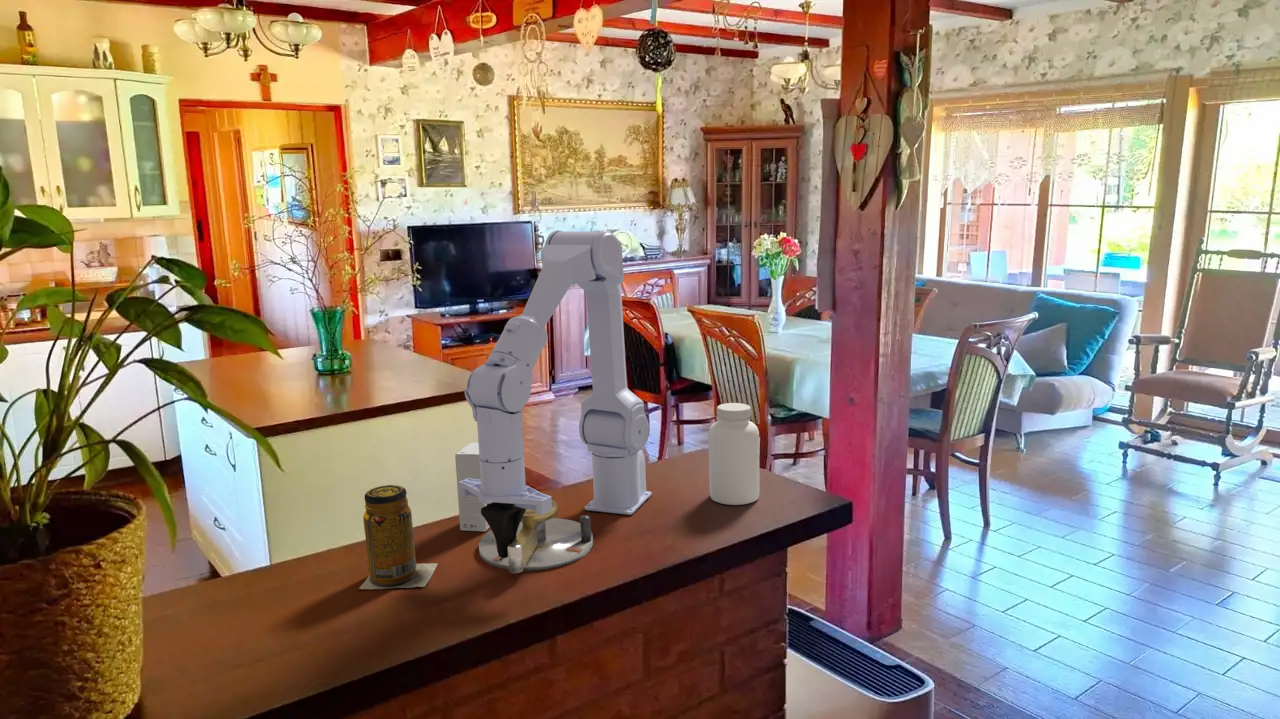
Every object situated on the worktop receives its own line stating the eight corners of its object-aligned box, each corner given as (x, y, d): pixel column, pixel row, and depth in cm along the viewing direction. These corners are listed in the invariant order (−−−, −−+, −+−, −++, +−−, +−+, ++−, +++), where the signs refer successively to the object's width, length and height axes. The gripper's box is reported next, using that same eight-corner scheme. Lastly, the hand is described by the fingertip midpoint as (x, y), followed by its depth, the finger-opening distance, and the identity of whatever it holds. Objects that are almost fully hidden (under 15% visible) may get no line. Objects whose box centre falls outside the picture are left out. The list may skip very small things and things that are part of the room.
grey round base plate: (513, 519, 133) (512, 491, 132) (610, 530, 128) (609, 501, 127) (457, 562, 119) (454, 531, 118) (563, 577, 113) (561, 544, 112)
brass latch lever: (519, 528, 127) (517, 497, 126) (563, 528, 126) (561, 498, 125) (490, 572, 112) (487, 538, 111) (538, 574, 111) (536, 539, 110)
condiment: (376, 566, 119) (367, 482, 116) (438, 564, 119) (431, 480, 116) (358, 591, 112) (349, 502, 109) (424, 589, 111) (416, 500, 109)
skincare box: (486, 532, 129) (481, 455, 126) (459, 531, 130) (453, 454, 127) (501, 517, 135) (496, 442, 132) (475, 515, 135) (469, 441, 133)
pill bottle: (761, 489, 142) (761, 400, 139) (756, 507, 135) (756, 414, 132) (713, 487, 144) (711, 399, 141) (706, 505, 136) (704, 412, 133)
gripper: (439, 456, 114) (446, 554, 116) (523, 474, 106) (529, 578, 108) (477, 442, 119) (483, 536, 122) (560, 458, 111) (564, 558, 114)
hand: (507, 554), depth 116 cm, fingers closed, pressing on brass latch lever
